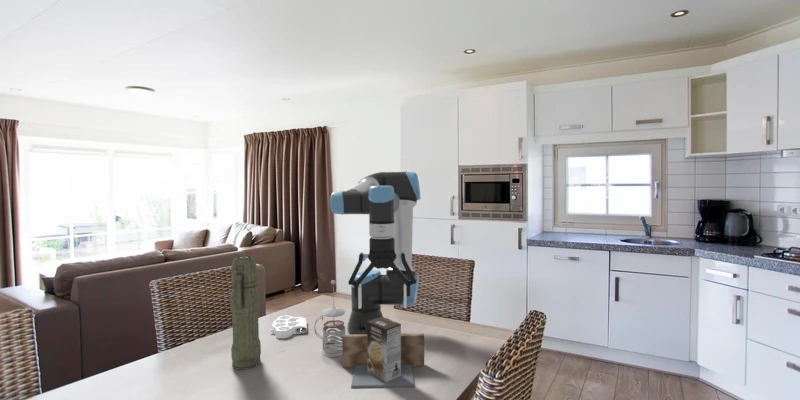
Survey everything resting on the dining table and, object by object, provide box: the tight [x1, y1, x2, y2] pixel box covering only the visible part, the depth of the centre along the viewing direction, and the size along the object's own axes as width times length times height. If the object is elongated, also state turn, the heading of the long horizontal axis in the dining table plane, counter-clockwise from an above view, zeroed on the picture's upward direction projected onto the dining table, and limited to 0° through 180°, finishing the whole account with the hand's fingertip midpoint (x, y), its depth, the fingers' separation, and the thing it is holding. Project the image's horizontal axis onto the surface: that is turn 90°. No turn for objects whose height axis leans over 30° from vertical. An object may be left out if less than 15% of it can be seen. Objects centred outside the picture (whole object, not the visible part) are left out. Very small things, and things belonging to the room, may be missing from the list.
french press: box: [313, 279, 346, 358], centre depth 140 cm, size 10×12×25 cm
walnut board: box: [341, 333, 425, 368], centre depth 128 cm, size 26×2×10 cm, turn 91°
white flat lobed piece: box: [268, 315, 308, 339], centre depth 161 cm, size 3×18×15 cm
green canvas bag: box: [229, 255, 262, 370], centre depth 130 cm, size 9×12×35 cm
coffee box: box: [367, 316, 402, 382], centre depth 121 cm, size 9×6×16 cm
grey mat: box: [350, 365, 415, 389], centre depth 122 cm, size 18×13×1 cm
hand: (382, 307), depth 121 cm, fingers open, 13 cm apart
